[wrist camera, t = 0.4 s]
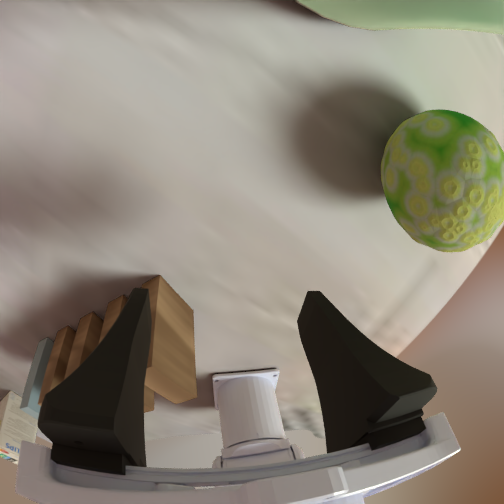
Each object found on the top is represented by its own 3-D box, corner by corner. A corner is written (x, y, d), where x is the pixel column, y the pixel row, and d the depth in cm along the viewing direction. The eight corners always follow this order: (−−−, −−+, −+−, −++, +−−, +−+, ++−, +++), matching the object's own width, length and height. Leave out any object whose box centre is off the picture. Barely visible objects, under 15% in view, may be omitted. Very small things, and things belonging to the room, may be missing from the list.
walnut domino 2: (114, 346, 29) (103, 422, 22) (80, 318, 26) (60, 397, 19) (127, 340, 29) (118, 418, 21) (93, 311, 26) (73, 393, 18)
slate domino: (69, 365, 30) (56, 430, 23) (39, 342, 27) (19, 408, 20) (79, 361, 30) (66, 429, 22) (47, 337, 27) (27, 406, 20)
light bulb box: (26, 418, 39) (18, 466, 30) (-3, 402, 35) (-13, 450, 27) (42, 407, 36) (33, 463, 28) (9, 389, 33) (-5, 445, 24)
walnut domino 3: (142, 333, 28) (136, 414, 21) (108, 303, 25) (90, 388, 18) (157, 326, 28) (153, 410, 21) (123, 294, 25) (107, 382, 18)
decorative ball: (385, 227, 25) (450, 305, 17) (334, 138, 20) (418, 201, 12) (460, 168, 23) (536, 224, 15) (427, 74, 17) (529, 106, 9)
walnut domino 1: (90, 356, 29) (78, 427, 22) (57, 331, 27) (37, 404, 19) (101, 352, 29) (89, 424, 22) (68, 325, 26) (47, 401, 19)
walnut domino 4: (175, 318, 28) (175, 404, 20) (141, 284, 25) (129, 374, 17) (193, 310, 27) (197, 397, 20) (160, 274, 24) (151, 366, 17)
